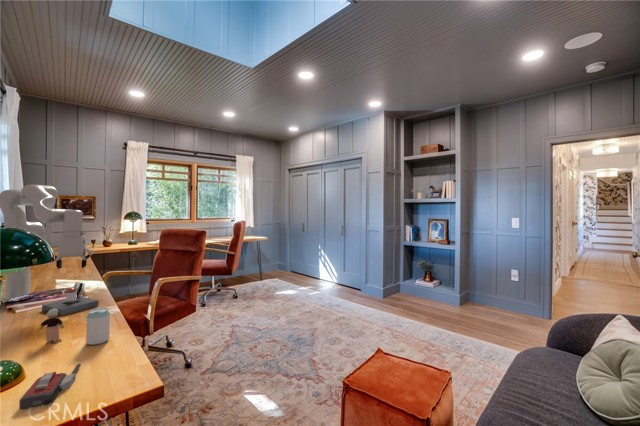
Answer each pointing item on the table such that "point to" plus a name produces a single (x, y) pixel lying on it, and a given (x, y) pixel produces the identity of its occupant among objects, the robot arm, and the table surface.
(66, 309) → the socket block
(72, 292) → the pin
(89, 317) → the can
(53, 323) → the grandmother figurine
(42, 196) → the robot arm
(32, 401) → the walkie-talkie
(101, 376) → the table surface
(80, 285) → the grey curved electronic device
